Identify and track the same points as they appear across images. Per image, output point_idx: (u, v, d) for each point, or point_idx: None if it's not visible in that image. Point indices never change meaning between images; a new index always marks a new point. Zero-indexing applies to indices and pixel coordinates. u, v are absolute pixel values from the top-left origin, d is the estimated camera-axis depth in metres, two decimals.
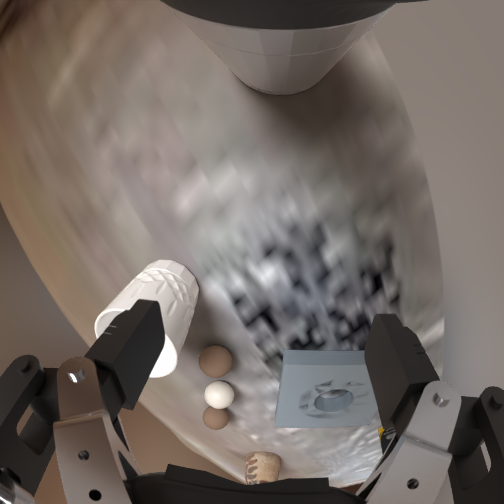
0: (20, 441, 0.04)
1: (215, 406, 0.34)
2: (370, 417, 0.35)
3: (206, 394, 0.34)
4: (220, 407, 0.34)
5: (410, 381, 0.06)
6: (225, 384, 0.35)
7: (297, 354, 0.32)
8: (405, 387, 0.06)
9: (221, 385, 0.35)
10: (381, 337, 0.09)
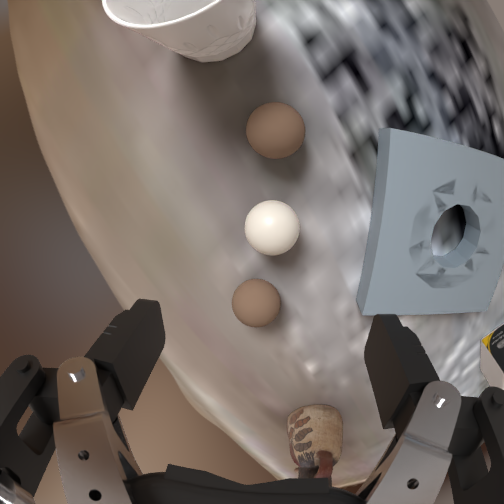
0: (20, 441, 0.04)
1: (268, 238, 0.19)
2: (491, 291, 0.20)
3: (251, 216, 0.20)
4: (278, 241, 0.19)
5: (410, 381, 0.06)
6: None
7: None
8: (405, 387, 0.06)
9: (278, 201, 0.20)
10: (381, 337, 0.09)
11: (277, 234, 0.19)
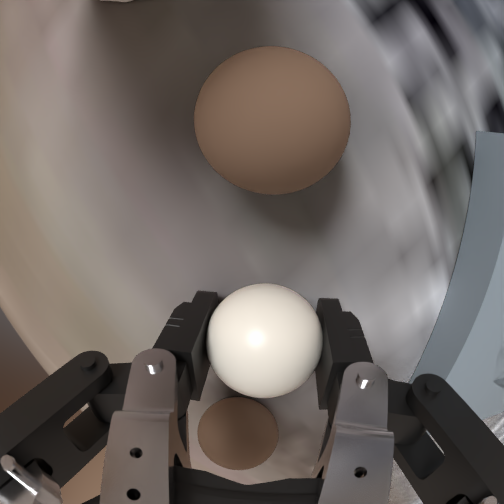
0: (64, 437, 0.05)
1: (254, 385, 0.08)
2: None
3: (216, 330, 0.08)
4: (275, 389, 0.08)
5: (334, 359, 0.07)
6: (291, 290, 0.10)
7: None
8: (330, 365, 0.07)
9: (280, 289, 0.09)
10: (320, 320, 0.10)
11: (274, 379, 0.08)
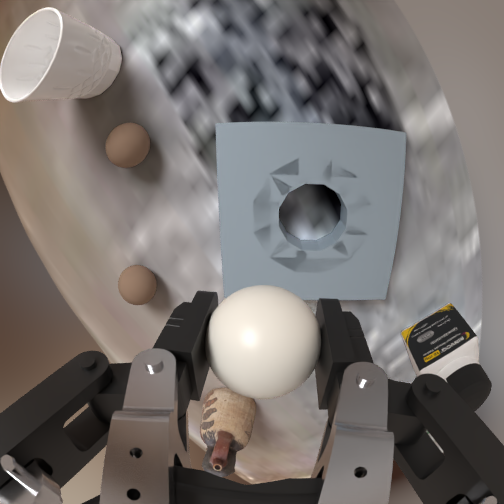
0: (64, 437, 0.05)
1: (252, 386, 0.08)
2: (385, 276, 0.24)
3: (214, 332, 0.08)
4: (274, 390, 0.08)
5: (334, 360, 0.07)
6: (290, 292, 0.10)
7: None
8: (330, 366, 0.07)
9: (278, 290, 0.09)
10: (320, 320, 0.10)
11: (272, 380, 0.08)
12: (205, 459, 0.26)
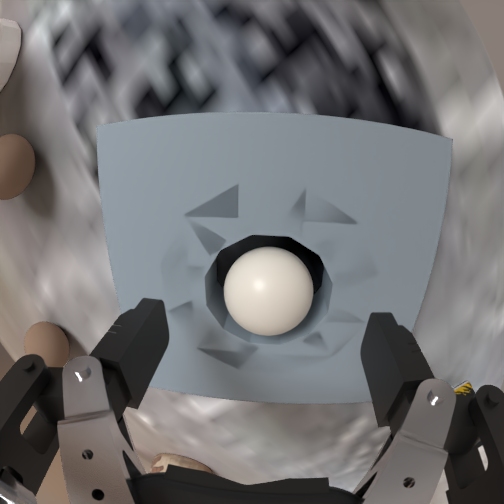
0: (23, 440, 0.04)
1: (261, 318, 0.11)
2: None
3: (233, 278, 0.12)
4: (277, 322, 0.11)
5: (404, 379, 0.06)
6: None
7: None
8: (400, 385, 0.06)
9: (279, 249, 0.12)
10: (376, 335, 0.09)
11: (276, 312, 0.11)
12: None
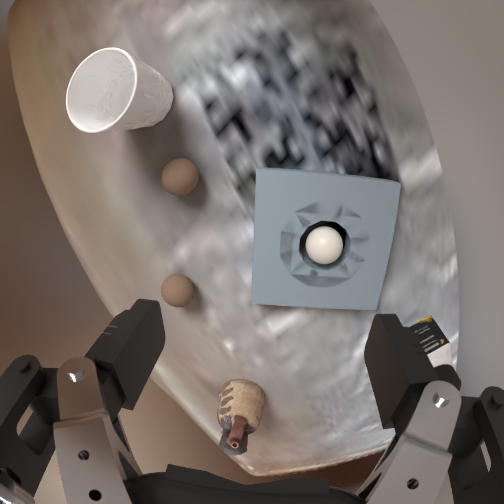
0: (20, 441, 0.04)
1: (324, 252, 0.28)
2: (376, 292, 0.31)
3: (312, 237, 0.29)
4: (330, 254, 0.28)
5: (410, 381, 0.06)
6: None
7: (273, 168, 0.29)
8: (405, 387, 0.06)
9: (329, 227, 0.29)
10: (381, 337, 0.09)
11: (330, 250, 0.28)
12: (222, 440, 0.33)
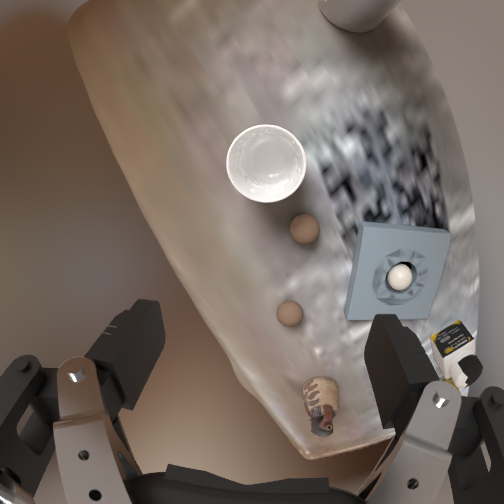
0: (20, 441, 0.04)
1: (402, 283, 0.37)
2: (429, 306, 0.40)
3: (394, 272, 0.38)
4: (405, 284, 0.37)
5: (410, 381, 0.06)
6: None
7: (371, 223, 0.38)
8: (405, 387, 0.06)
9: None
10: (381, 337, 0.09)
11: (406, 281, 0.37)
12: (315, 425, 0.42)
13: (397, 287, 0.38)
